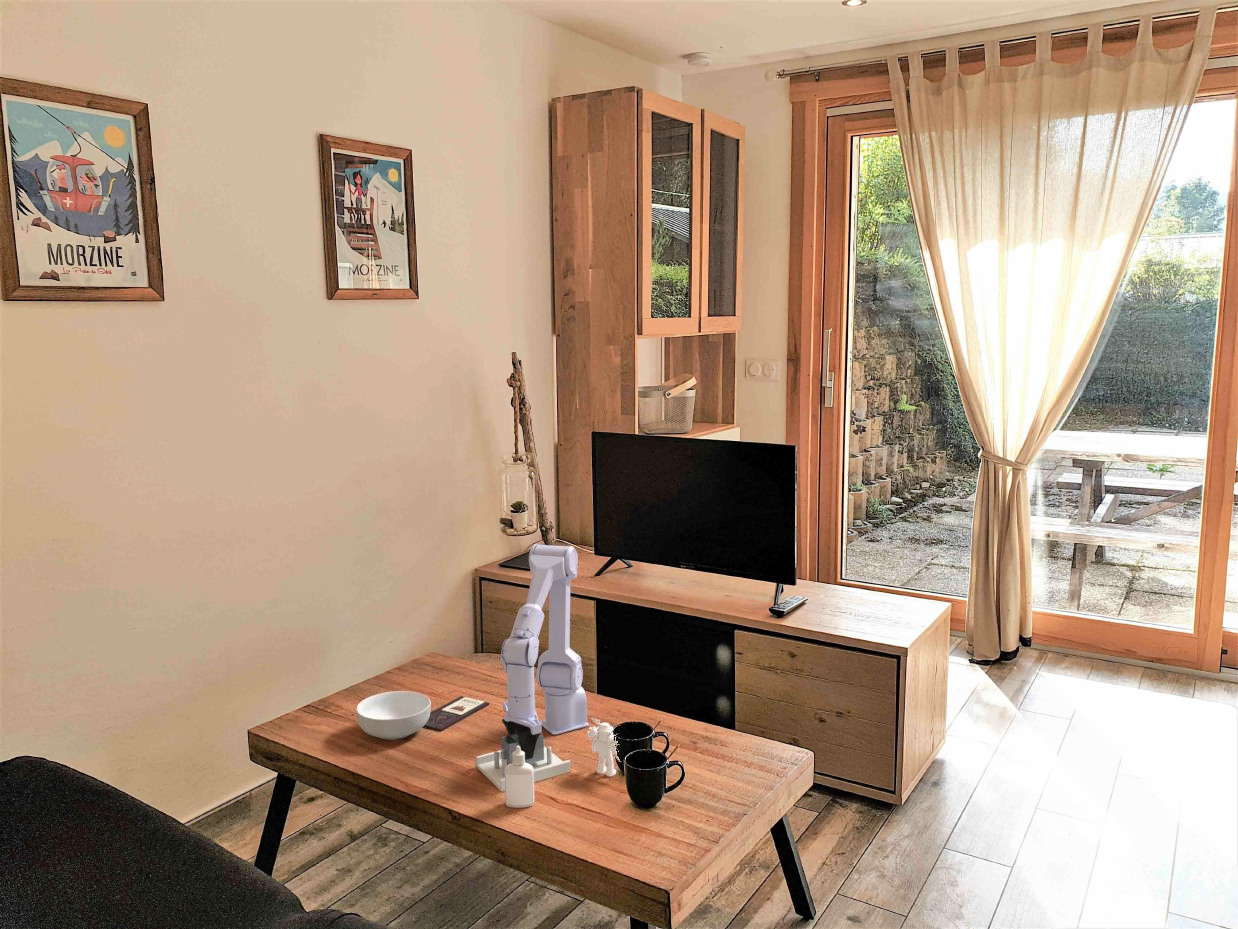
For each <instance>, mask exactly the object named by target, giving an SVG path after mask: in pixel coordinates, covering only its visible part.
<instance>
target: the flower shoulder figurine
mask: <svg viewBox="0 0 1238 929" xmlns="http://www.w3.org/2000/svg"><path fill="white" fill-rule="evenodd" d="M590 719H591V720H592V723H595V725H594V726H592V727H588V729H589V730H586V736H587V739H588V740H589V741H591V752H592V753H597V754H598V765H597V769H596V773H597V774H599V775H600V774H605V776H606V777H613V776H615V775H616V774H617V770H616V769H615V767H614V758H613V754H614V756H615V758H616V759H617V760H618V762H620V763H621V761H620V759H619V757H618V756H617V751H616V749H617V746H618V745H619V744H617V743H618V741H616V737H615V741H614V736H616V735H617V734H618V733H616V734H614V732H613V730H614V727H613V726H612V725H610V724H609V723H608V722H602V723H601V720H600V719H597V718H594V717H590ZM597 725H598V726H597ZM596 726H597V727H596ZM615 745H616V746H615Z"/></svg>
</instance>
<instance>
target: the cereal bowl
mask: <svg viewBox="0 0 1238 929" xmlns="http://www.w3.org/2000/svg"><path fill="white" fill-rule="evenodd" d="M431 709H432V701H431V699H430V698H429V697H428V696H427V695H425V694H423V693H421V692H420V693H419V692H416V691H410V690H406V691H405V690H400V691H399V690H397V691H396V690H394V691H386V692H381V693H377V694H373V695H371V696H369V697H367V698H364V699H363V700H361V701H360V702H359V703H358V705H357V706H356V709H355V712H356V713H355V714H356V719H357V723H358V725H359V727H360V729H362V730H363V731H364V732H365V733H366V734H368V735H369V736H373V737H376V738H380V739H382V740H387V741H388V740H390V741H392V740H393V741H395V740H400V739H404V738H406V737H409V736H410V735H412V734H415V733H416V732H418V731H420V730H421V729H422V728H424V727H423V726H424V725H425V724H426V723H427V721H428V719H429V717H430V712H432V710H431Z"/></svg>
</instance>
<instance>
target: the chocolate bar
mask: <svg viewBox="0 0 1238 929" xmlns="http://www.w3.org/2000/svg"><path fill="white" fill-rule="evenodd" d="M488 706H490V702H488V701H484V700H483V701H482V700H478V699H475V698H472V697H471V698H470V697H466V696H462V695H460V696H459V697H457V698H455V699H453V700H451V701H450V702H447V703H445V704H444V705H442V706H440V707H437V708H436V709H434V710H431V712H430V717H429V719H428V721H427V723H426V724H425V725H424V726H423V727H422V728H425V729H429V730H433V731H436V732H443V731H445V730H446V729H449V728H450V727H452V726H455V725H456V724H458V723H459V722H462V721H463V720H465V719H466V718H468V717H470V716H472V715H474V714H475V713H477V712H479V711H480V710H481V711H482V709H484V708H486V707H488Z"/></svg>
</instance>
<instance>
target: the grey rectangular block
mask: <svg viewBox="0 0 1238 929" xmlns="http://www.w3.org/2000/svg"><path fill="white" fill-rule="evenodd" d="M544 738H545V737H544V734H542V733H541V734H540V735H539V737H538V740H537V742H536V746H535V750H534V755H533V758H530V759H527V760H525V763H528V764H531V763H534V762H538V761H541V760H544V741H545V739H544ZM517 746H520V742H519V739H518V736H517V734H516V733H514V734H510V735H509V734H508V735H503V736H500V750H501V762H502V759H507V765H509V764H511V763H513V760H512V753H513V752H515V751H516V747H517ZM520 748H521V747H520Z"/></svg>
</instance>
